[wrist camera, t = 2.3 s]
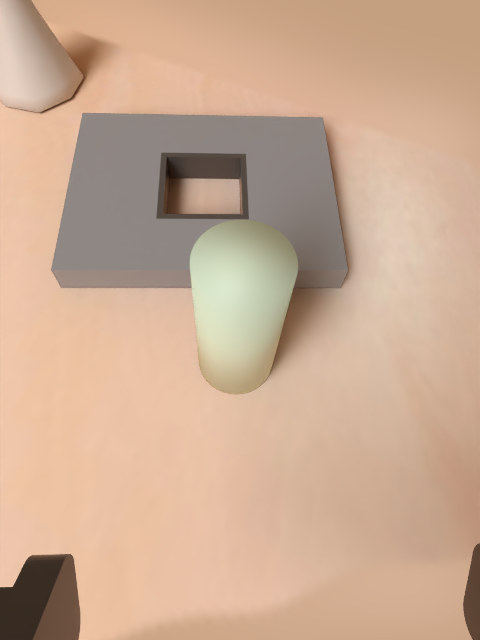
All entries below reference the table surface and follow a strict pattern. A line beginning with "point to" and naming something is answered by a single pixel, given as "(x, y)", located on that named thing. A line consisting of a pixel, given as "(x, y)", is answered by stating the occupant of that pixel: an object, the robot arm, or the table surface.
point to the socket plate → (185, 229)
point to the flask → (32, 60)
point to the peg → (240, 301)
